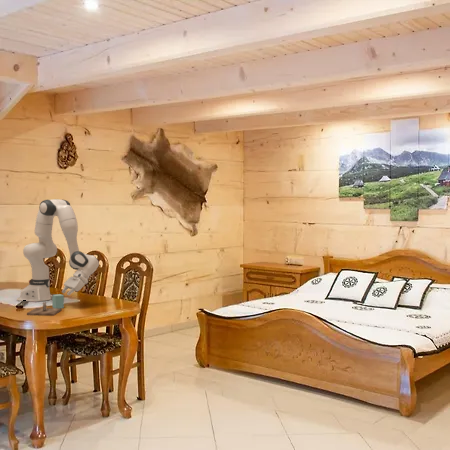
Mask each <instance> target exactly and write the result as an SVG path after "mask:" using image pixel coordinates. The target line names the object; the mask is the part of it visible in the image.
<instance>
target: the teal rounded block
mask: <svg viewBox="0 0 450 450" xmlns="http://www.w3.org/2000/svg"><path fill="white" fill-rule="evenodd" d="M51 295H52V296H51V300H52V301H51V302H52V307H51V308H57V309H64V307H65V303H64V302H65V301H64V300H65V298H64V294H60V293H59V294H58V293H57V294H51Z"/></svg>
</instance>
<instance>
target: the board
mask: <svg viewBox="0 0 450 450" xmlns="http://www.w3.org/2000/svg"><path fill="white" fill-rule="evenodd" d="M62 310H63V308H59V309H57V308H53V307H51V308H50V307H47V302H46V301H42V307H35V308H33V309H32V310H30V311H28V312H26V315H27V316H51V317H52V316H55V315H57V314H58V313H60V312H61V311H62Z"/></svg>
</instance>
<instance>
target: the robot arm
mask: <svg viewBox="0 0 450 450" xmlns="http://www.w3.org/2000/svg"><path fill="white" fill-rule="evenodd" d="M55 217H57V218H58V221H59V226H60V229H61V231H62V234H63V235H64V238H65V240H66V243H67V247H68V252H69V259H68V260H69V262H68V264H69V266H70V268H71V269H73V270H76V271H75V272H74V273H73V274H72V276H70V277H69V278H68V279H67V280H66V281H65V282H64V283H63V285H64V287H63V289H62V290H61V293H62V294H65V293H66V294H67V296H71V294H73V293H74V292H79V291H81V289H82V288H83V287H84V286H85V285H87V284H88V283H89V280H88V279H89V278H90V276H91V275H93V274H94V273H95V271H97V269H98V267H99V265H100V261H99V259H98V258H97V257H96V256H95V255H93V254H92V255H91V254H86V253H84V252H82V251H80V248H79V245H78V239H77V237H78V230H79V226H78V220H77V216H76V214H75V212H74V209H73V207H72V206H71V203H70V202H69V200H65V199H59V198H57V199H56V198H54V199H44V200H42V201H41V202H40V203H39V209H38V211H37V214H36V219H35V226H34V235H35V236H36V237H38V242H32V243H28V244H26V245H25V246H24V247H23V249H22V253H23V256H24V257H25V258H26V259H27V260H28V262H29V263H30V267H31V278H30V279H29V280H28V285H27V286H25V287H24V288H23V289H22V290H21V291H20V295H19V297H17V298H16V301H17V302H19V301H20V302H24V301H23V300H26V301H25V302H35V303H37V302H46V301H50V300H52V296H51V292H50V285H51V282H50V280H51V279H50V268H49V266H48V265H47V264H45V262H44V259H48V258H49V259H50V258H52V257H55V256H56V255H57V253H58V248H57V245H56V243H55V242H54V241H53V237H52V236H53V235H52V234H53V233H52V232H53V224H54V218H55ZM68 289H69V291H67V290H68Z"/></svg>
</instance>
